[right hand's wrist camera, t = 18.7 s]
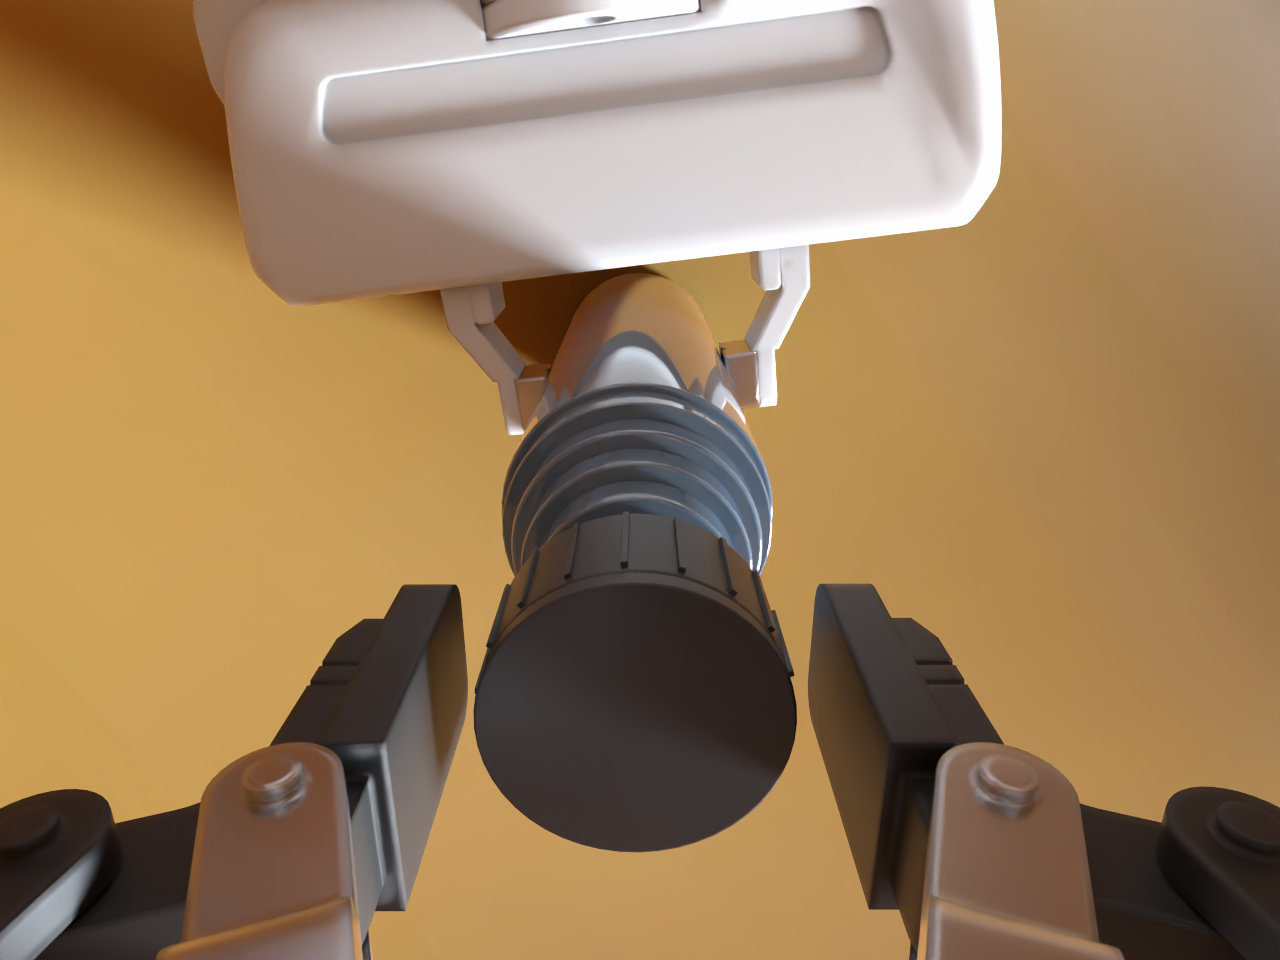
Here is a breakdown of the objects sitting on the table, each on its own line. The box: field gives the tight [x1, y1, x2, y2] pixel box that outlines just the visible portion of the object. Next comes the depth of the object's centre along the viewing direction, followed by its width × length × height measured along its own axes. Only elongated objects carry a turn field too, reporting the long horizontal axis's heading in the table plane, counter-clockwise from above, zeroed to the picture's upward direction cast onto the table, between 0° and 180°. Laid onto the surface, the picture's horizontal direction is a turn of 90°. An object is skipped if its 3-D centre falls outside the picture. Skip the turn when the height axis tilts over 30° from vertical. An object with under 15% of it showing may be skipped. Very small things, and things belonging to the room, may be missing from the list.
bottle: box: [502, 273, 773, 576], centre depth 21 cm, size 5×5×22 cm
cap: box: [474, 512, 797, 852], centre depth 11 cm, size 4×4×2 cm
